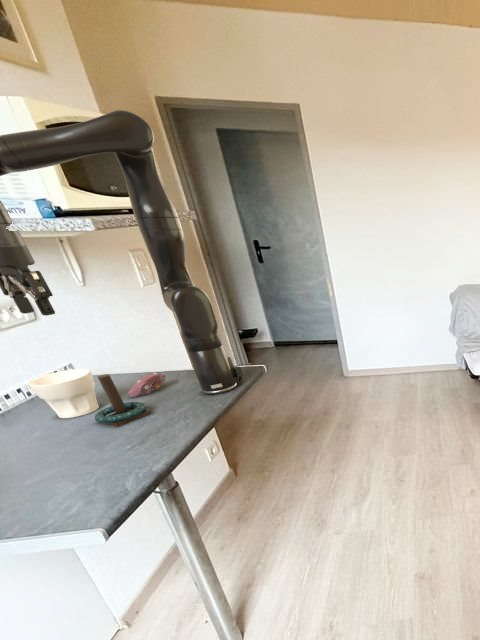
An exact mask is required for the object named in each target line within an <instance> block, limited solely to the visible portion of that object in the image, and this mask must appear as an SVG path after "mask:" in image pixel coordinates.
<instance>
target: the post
mask: <svg viewBox="0 0 480 640" xmlns="http://www.w3.org/2000/svg"><path fill="white" fill-rule="evenodd" d="M97 379H98V381H99V383H100V386H101V387H102V389H103V391H104V393H105V395H106V397H107V399H108V401H109V403H110V405H111V406H112V407H113V409H114V411H115V412H113V413H111V414H108V415H107V416H113V415H118V414H122V413H126V412H129V411H131V410H134V409H135V408H129V409H126V407H125V405H124V403H125V402H124V401H123V398H122V397H121V395H120V393H119V391H118V389H117V387H116V385H115V382H114V381H113V379H112V377H111V375H110V374H109V373H105V374H100V375H98V376H97ZM150 414H151V412H150V410H147V409H146V410H145V411H143V412H142V413H141V414H139V415H137V416H134V417H132V418H129V419H126V420H122V421H118V422H110V423H102V422H97V423H98V424H102V425H107V426H112V427H117V428H119V427H121V426H124V425H126V424H129V423H131V422H135V421H136V420H139V419H140V418H144V417H146V416H148V415H150Z"/></svg>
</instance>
